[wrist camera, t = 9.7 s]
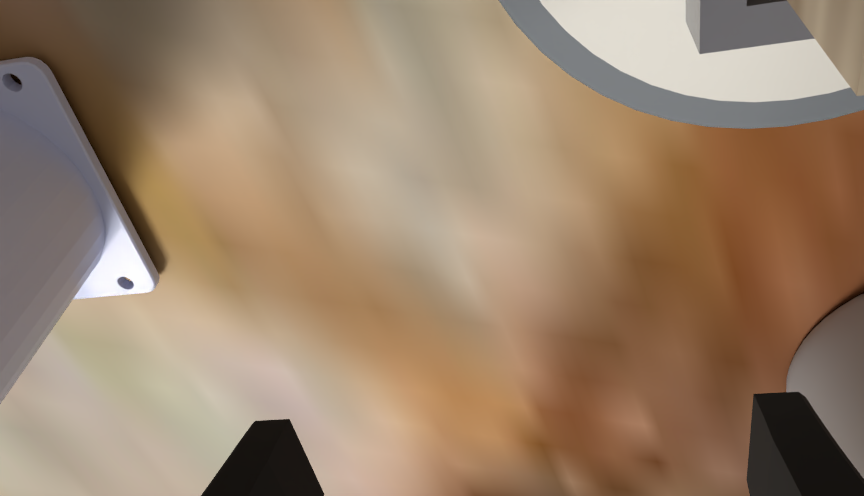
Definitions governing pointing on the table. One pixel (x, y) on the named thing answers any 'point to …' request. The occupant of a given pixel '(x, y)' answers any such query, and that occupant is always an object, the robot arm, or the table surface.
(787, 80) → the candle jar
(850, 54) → the wooden plank block
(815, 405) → the mug
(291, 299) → the table surface
